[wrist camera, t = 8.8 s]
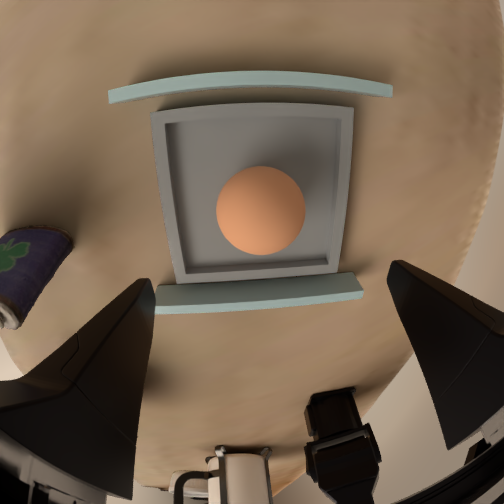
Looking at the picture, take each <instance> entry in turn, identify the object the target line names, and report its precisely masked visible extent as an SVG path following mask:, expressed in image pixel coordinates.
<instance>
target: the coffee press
mask: <svg viewBox="0 0 504 504" xmlns="http://www.w3.org/2000/svg"><path fill="white" fill-rule="evenodd" d="M267 449H269V452H268V454H267V455H266V457H265V458H264V457H262V456H260V455H262V454H264V452H265V451H266V450H267ZM215 452H216V454H217V456H216V457H214V458H211V457H207V458H206V459H205V461H206V463H207V464H208V472H200V471H191V472H186V473H183V474H182V475H180V476H179V477H178V479H177V480H176V482H175V486H174V504H183V490H184V484H185V483H186V482H187V481H188V480H190V479H204V480H207V481H208V492H209V504H273V499H272V491H271V483H270V475H269V467H268V459H269V457H270V455H271V454H272V449H270V448H268V447H265V448H263V449H262V451H261V452H260V453H258V454H229V453H227V451H226V449H225V447H224V446H216V447H215ZM210 459H211V460H210ZM209 460H210V461H209Z"/></svg>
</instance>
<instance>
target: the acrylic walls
mask: <svg viewBox="0 0 504 504" xmlns="http://www.w3.org/2000/svg"><path fill="white" fill-rule="evenodd" d="M257 87H274V88H303V89H317V90H329V91H338V92H347V93H354V94H361V95H368V96H375V97H390V98H392V85H389V84H384V83H379V82H374V81H369V80H364V79H358V78H351V77H345V76H337V75H329V74H319V73H308V72H292V71H231V72H215V73H203V74H194V75H185V76H178V77H171V78H164V79H158V80H153V81H148V82H142V83H138V84H133V85H128V86H124V87H120V88H116V89H112V90H108V96H109V104H113V103H126V102H130V101H135V100H140V99H145V98H151V97H156V96H163V95H169V94H176V93H184V92H192V91H202V90H213V89H228V88H257ZM363 292H364V290H363V288H362V286H361V285H360V283H359V281H358V280H357V278H356V277H355V275H354V273H353V272H348V273H337V274H326V275H315V276H303V277H291V278H278V279H264V280H250V281H235V282H219V283H201V284H182V285H160V286H157V289H156V292H155V297H156V306H155V314H184V313H208V312H227V311H243V310H257V309H269V308H281V307H292V306H302V305H312V304H321V303H330V302H338V301H346V300H354V299H361V298H362V296H363Z"/></svg>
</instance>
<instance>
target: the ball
mask: <svg viewBox="0 0 504 504" xmlns="http://www.w3.org/2000/svg"><path fill="white" fill-rule="evenodd" d="M305 213H306V207H305V201H304V197H303V194H302V192H301V190H300V188H299V187H298V185H297V184H296V183H295V181H294V180H293V179H292V178H291V177H289V176H288V175H287V174H285V173H284V172H282V171H280V170H278V169H275V168H272V167H266V166H255V167H250V168H246V169H244V170H241V171H240V172H238V173H236V174H235V175H233V176H232V177H231V178H230V179H229V180H228V181H227V182H226V184H225V185H224V186H223V188H222V190H221V192H220V194H219V197H218V200H217V206H216V215H217V221H218V224H219V227H220V229H221V231H222V233H223V235H224V236H225V238H226V239H227V240H228V241H229V242H230V243H231V244H232V245H233V246H235V247H236V248H238V249H240V250H242V251H244V252H247V253H249V254H254V255H267V254H272V253H276V252H278V251H280V250H282V249H284V248H286V247H287V246H289V245H290V244H291V243H292V242H293V241H294V240H295V239H296V237H297V236H298V235H299V233H300V231H301V229H302V227H303V224H304V220H305Z"/></svg>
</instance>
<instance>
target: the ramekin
mask: <svg viewBox="0 0 504 504" xmlns="http://www.w3.org/2000/svg"><path fill="white" fill-rule="evenodd" d="M186 472H191V471H176V472H174V473H173V474H172V478H171V483H170V487H169V492H170V493H173V494H174V486H175V482H176V480H177V479H178V477H179V476H180V475H182V474H183V473H186ZM183 496H191V497H209V492H208V481H207V480H204V479H190V480H188V481H187V482H186V483H185V484H184V490H183Z"/></svg>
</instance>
